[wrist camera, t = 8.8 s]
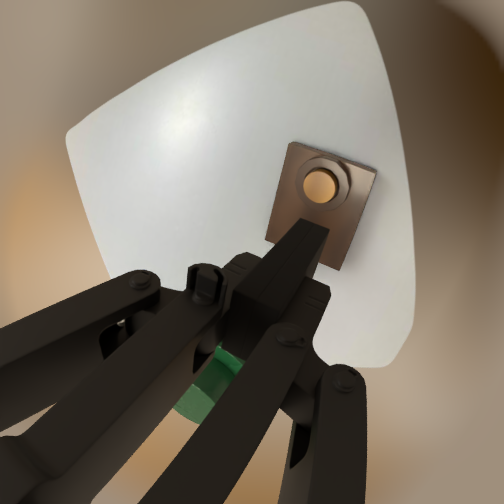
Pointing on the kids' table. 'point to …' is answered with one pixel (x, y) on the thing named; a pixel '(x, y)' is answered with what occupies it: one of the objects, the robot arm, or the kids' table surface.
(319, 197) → the lamp switch
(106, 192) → the kids' table surface
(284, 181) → the lamp base
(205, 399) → the lamp
